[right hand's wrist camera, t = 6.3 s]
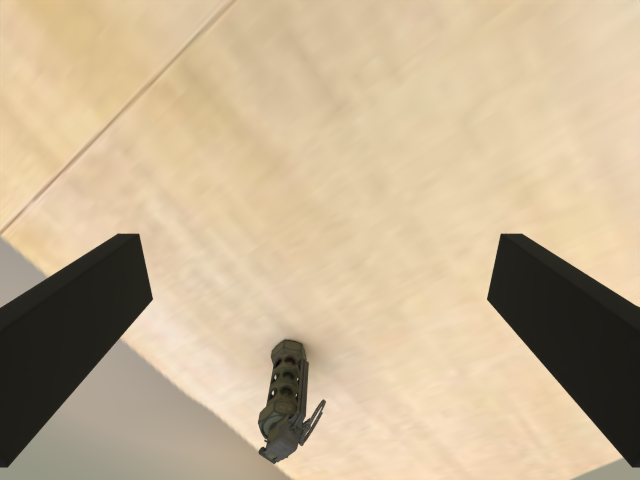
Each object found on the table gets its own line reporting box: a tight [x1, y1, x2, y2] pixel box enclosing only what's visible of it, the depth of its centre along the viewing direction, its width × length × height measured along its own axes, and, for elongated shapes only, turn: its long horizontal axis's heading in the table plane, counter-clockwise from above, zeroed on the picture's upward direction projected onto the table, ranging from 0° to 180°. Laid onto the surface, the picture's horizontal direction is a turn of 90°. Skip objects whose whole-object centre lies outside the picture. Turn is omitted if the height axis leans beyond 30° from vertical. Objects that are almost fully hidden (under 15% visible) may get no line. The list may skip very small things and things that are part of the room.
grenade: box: [258, 340, 326, 464], centre depth 41 cm, size 9×6×15 cm, turn 134°
